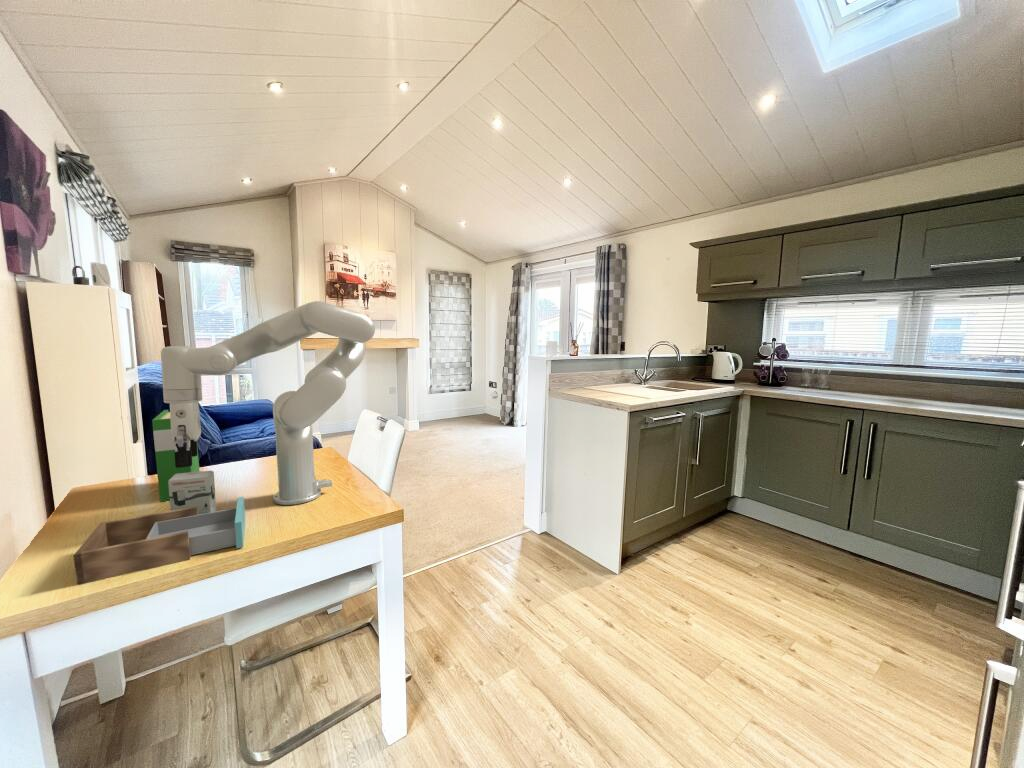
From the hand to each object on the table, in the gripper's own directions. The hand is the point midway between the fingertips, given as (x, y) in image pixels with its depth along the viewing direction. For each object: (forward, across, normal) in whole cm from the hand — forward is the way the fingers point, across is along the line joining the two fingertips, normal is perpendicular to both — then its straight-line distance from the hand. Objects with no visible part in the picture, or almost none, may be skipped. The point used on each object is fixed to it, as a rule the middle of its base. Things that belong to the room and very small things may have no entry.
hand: (187, 461), depth 103 cm
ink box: (+16, 0, -1) cm, 16 cm away
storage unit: (+16, -16, +5) cm, 23 cm away
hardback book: (+16, +26, +5) cm, 31 cm away
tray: (+15, -16, -3) cm, 22 cm away
